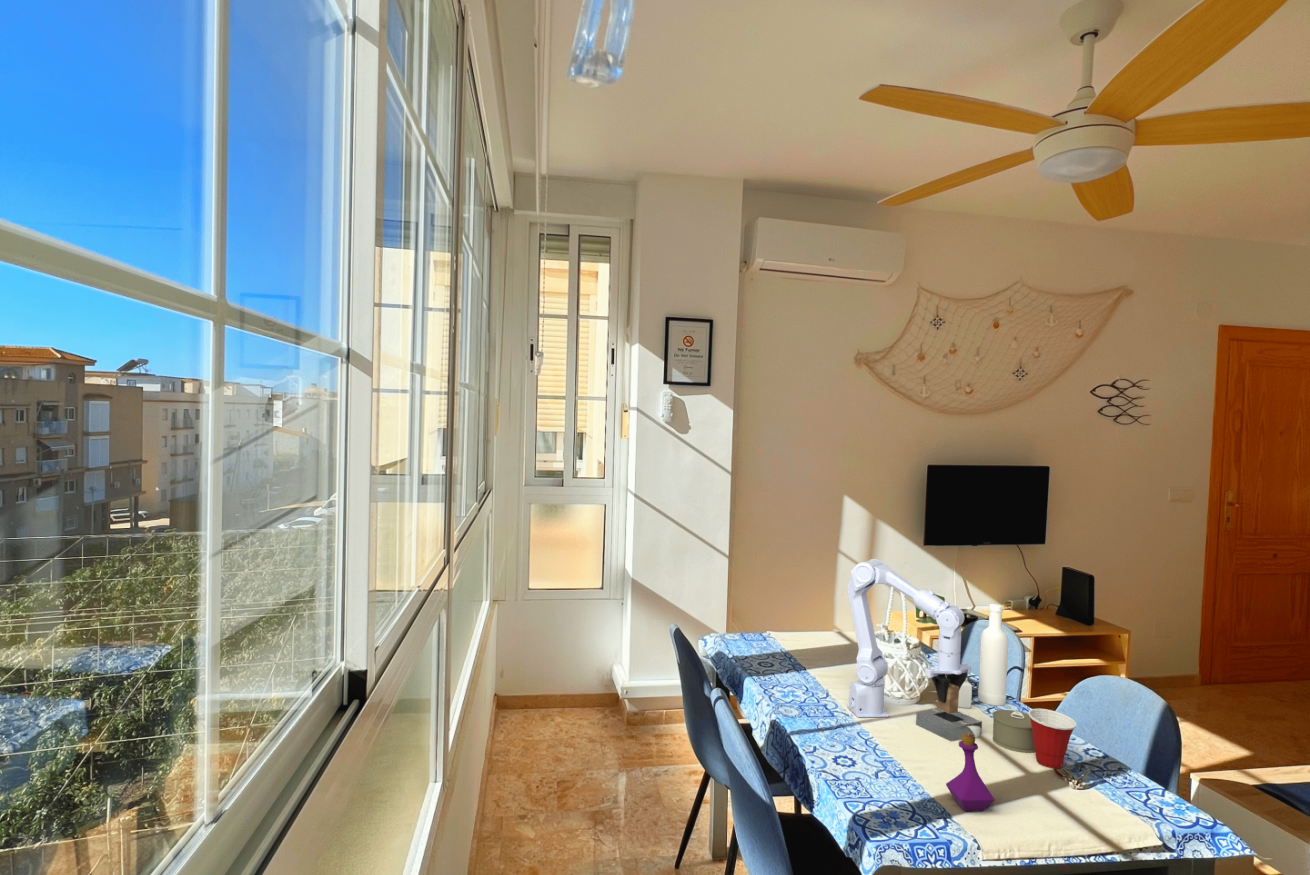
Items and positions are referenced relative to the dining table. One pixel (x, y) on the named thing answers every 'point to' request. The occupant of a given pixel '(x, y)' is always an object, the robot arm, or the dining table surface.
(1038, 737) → the plastic cup
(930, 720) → the block with rectangular hole
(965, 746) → the perfume bottle
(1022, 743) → the can
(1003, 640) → the bottle
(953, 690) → the peg
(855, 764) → the dining table surface
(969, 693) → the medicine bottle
